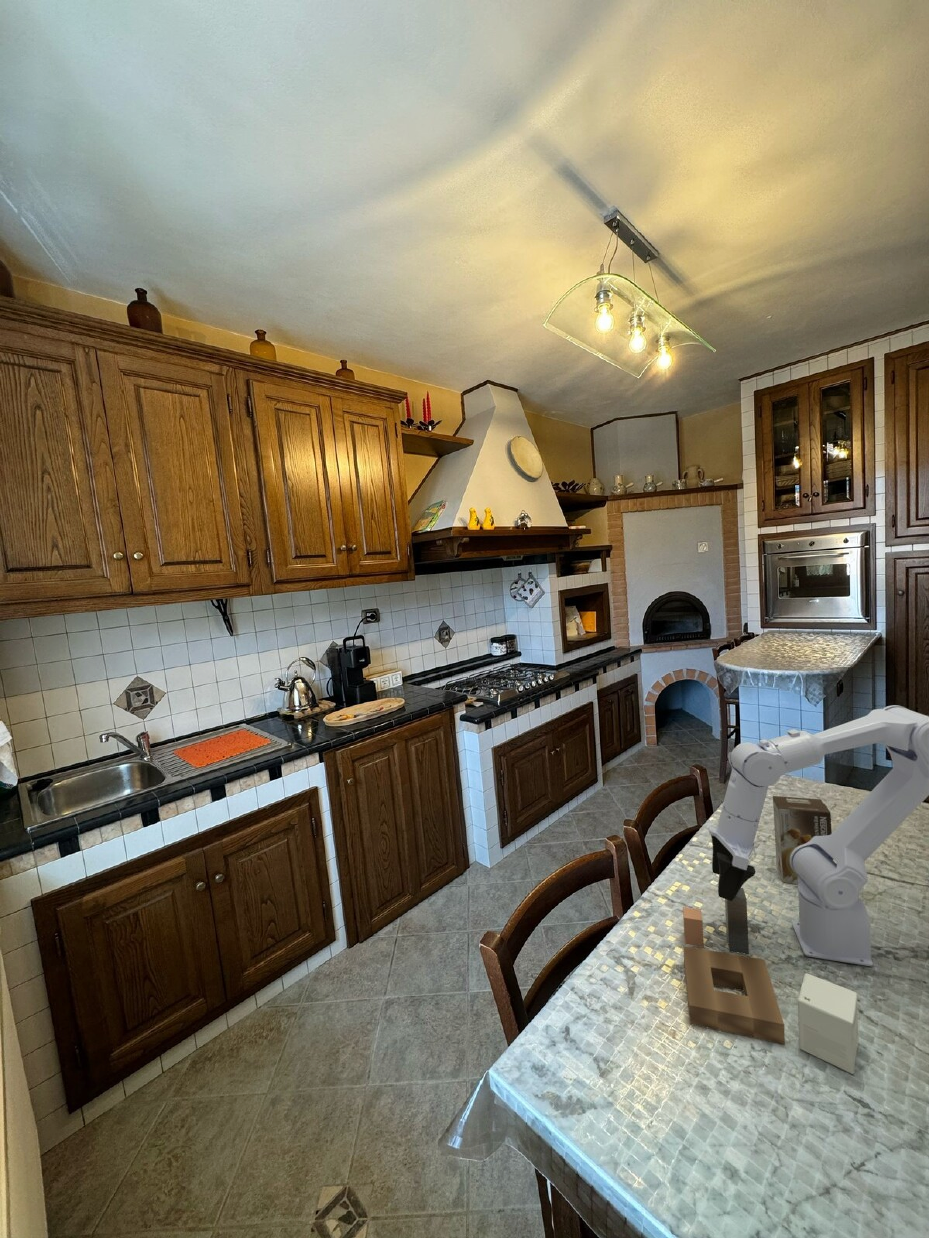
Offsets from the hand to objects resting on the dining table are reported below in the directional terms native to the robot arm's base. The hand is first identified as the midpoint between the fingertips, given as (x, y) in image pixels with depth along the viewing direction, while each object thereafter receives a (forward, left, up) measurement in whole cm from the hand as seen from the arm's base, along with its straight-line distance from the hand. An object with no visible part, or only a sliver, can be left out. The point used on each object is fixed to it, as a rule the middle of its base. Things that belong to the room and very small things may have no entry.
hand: (721, 885), depth 86 cm
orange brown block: (+5, 0, -11) cm, 12 cm away
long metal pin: (-2, 0, -11) cm, 11 cm away
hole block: (+1, +12, -11) cm, 16 cm away
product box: (-11, +17, -11) cm, 23 cm away
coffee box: (-18, -24, -11) cm, 32 cm away
